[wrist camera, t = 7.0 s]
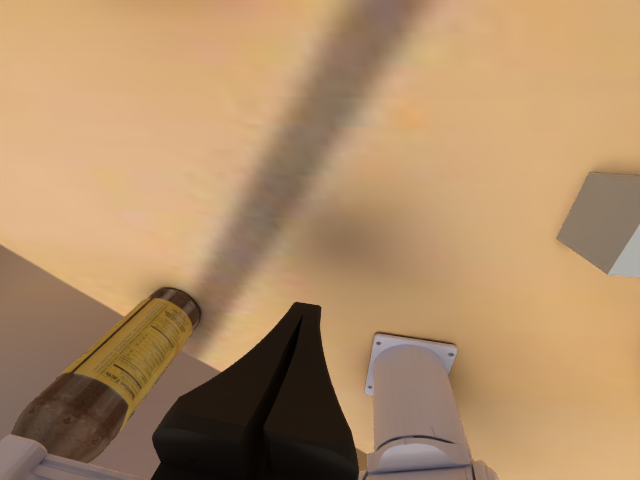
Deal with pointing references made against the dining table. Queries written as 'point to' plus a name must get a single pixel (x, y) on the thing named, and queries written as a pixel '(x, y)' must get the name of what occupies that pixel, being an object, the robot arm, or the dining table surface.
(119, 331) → the sauce bottle
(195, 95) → the dining table surface
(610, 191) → the block
